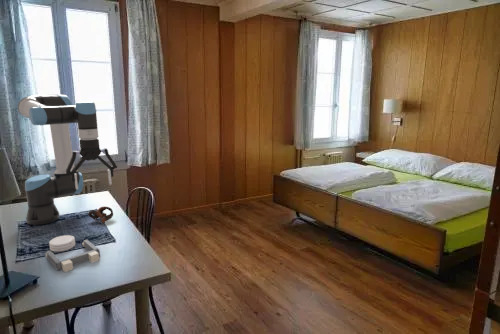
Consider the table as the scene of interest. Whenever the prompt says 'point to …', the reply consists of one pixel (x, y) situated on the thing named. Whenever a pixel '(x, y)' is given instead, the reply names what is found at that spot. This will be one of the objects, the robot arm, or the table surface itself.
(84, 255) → the grey u-shaped frame
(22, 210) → the table surface
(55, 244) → the white round disc
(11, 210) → the table surface
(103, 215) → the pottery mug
